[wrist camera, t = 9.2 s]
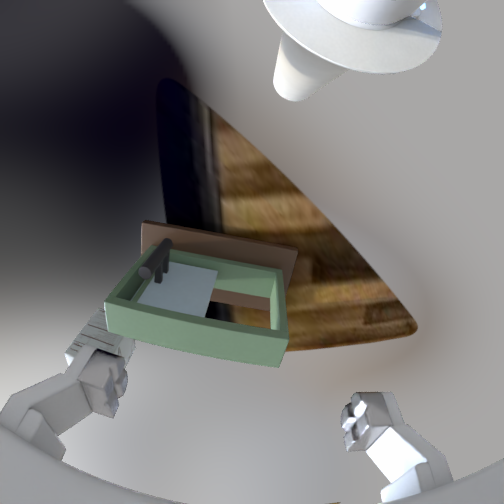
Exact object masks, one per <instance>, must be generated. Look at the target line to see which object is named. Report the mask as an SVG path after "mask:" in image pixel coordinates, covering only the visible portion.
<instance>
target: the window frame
mask: <svg viewBox="0 0 504 504" xmlns="http://www.w3.org/2000/svg"><path fill="white" fill-rule="evenodd" d="M141 238H142V239H141V257H140V259H139V260H138V261H137V262H136V263H135V264H134V265H133V267H132V268H131V269H130V270H129V271H128V272H127V274H126V275H125V276H124V277H123V278H122V280H121V281H120V282H119V283H118V285H117V286H116V287H115V288H114V290H113V291H112V292H111V293H110V294H109V296H108V297H107V298H106V300H105V301H104V305H105V313H106V320H107V327H108V332H111V333H114V334H117V335H121V336H124V337H128V338H131V339H135V340H139V341H142V342H146V343H150V344H154V345H158V346H162V347H166V348H171V349H175V350H180V351H184V352H188V353H193V354H198V355H203V356H208V357H213V358H219V359H224V360H230V361H236V362H242V363H248V364H255V365H261V366H269V367H276V368H279V366H280V364H281V361H282V358H283V356H284V353H285V350H286V347H287V345H288V342H289V333H288V332H289V331H288V321H287V312H286V302H285V297H286V294H287V290H288V287H289V283H290V280H291V276H292V272H293V269H294V265H295V262H296V258H297V254H298V249H297V248H296V247H291V246H285V245H280V244H275V243H269V242H264V241H259V240H254V239H248V238H243V237H237V236H232V235H226V234H221V233H216V232H210V231H205V230H199V229H193V228H188V227H182V226H177V225H171V224H165V223H160V222H154V221H148V220H145V221H143V222H142V237H141ZM165 238H169V239H171V240H172V242H173V246H172V248H171V249H170V256H169V262H174V263H179V264H184V265H189V266H195V267H200V268H205V269H210V270H215V271H218V274H217V277H216V281H215V284H214V287H213V291H212V294H211V297H210V301H215V302H221V303H226V304H231V305H237V306H242V307H248V308H254V309H260V310H266V311H270V317H271V329H266V328H260V327H254V326H248V325H242V324H236V323H231V322H225V321H220V320H215V319H209V318H204V317H199V316H194V315H190V314H185V313H180V312H176V311H171V310H167V309H162V308H158V307H153V306H149V305H145V304H141V303H137V302H133V301H132V299H133V298H134V296H135V295H136V293H137V292H138V291H139V289H140V288H141V286H142V285H143V283H144V282H145V281H146V279H143V278H142V277H140V275H139V269H140V267H141V266H142V265H143V264H144V262H145V261H146V260H147V259H148V257H149V256H150V255H151V254H152V252H153V251H154V250H155V249H156V248H157V246H158V245H159V244H160V243H161V242H162V240H163V239H165Z"/></svg>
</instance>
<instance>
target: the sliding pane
mask: <svg viewBox="0 0 504 504" xmlns="http://www.w3.org/2000/svg"><path fill="white" fill-rule="evenodd" d="M172 246H173V242H172V240H171V239H169V238H165V239H163V240H162V242H161V243H160V244H159V245H158V246H157V248H156V249H155V250H154V251H153V252H152V254H151V255H150V256H149V257H148V259H147V260H146V261H145V262H144V264H143V265H142V266H141V267H140V269H139V275H140V277H142V278H143V279H146V281H145V282H144V283H143V285H142V286H141V288H140V289H139V291H138V292H137V293H136V295H135V296H134V298H133V299H132V301H133V302H137V303H141V304H145V305H149V306H153V307H158V308H162V309H167V310H171V311H176V312H180V313H185V314H190V315H194V316H199V317H204V318H205V314H206V311H207V307H208V304H209V301H210V297H211V294H212V291H213V287H214V284H215V281H216V277H217V274H218V271H215V270H210V269H205V268H200V267H195V266H189V265H184V264H179V263H174V262H169V256H170V249H171V248H172Z"/></svg>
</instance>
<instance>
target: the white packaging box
mask: <svg viewBox="0 0 504 504" xmlns="http://www.w3.org/2000/svg"><path fill="white" fill-rule="evenodd" d="M85 344H88V345H90V346H93V347H96V348H99V349H102V350H105V351H107V352H110V353H113V354H116V355H119V356H122V357H124V359H125V366H124V369H125V368H126V366H127V364H128V362H129V359H130V357H131V356H132V354H133V351H134V350H135V339H131V338H128V337H124V336H121V335H117V334H114V333H111V332H108V327H107V320H106V313H105V310H104V309H101V308H98V309H97V311H96V312H95V313H94V314H93V316H92V317H91V318H90V320H89V321H88V322H87V324H86V325H85V326H84V327H83V329H82V330H81V331H80V333H79V334H78V335H77V337H76V338H75V340H74V341H73V342H72V343H71V345H70V346H69V348H68V349H67V350H66V352H65V356H66V360H67V363H68V366H69V365H70V364H71V362H72V361H73V359H74V358H75V356H76V355H77V353H78V352H79V350H80V349H81V347H82V346H84V345H85Z"/></svg>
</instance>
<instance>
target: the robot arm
mask: <svg viewBox="0 0 504 504" xmlns="http://www.w3.org/2000/svg"><path fill="white" fill-rule="evenodd" d="M317 1H318V3H319V4H320V5H321V6H322V7H323V8H324V9H325V10H327V11H328V12H329V13H330V14H332V15H333V16H335V17H336V18H338V19H340V20H342V21H344V22H346V23H348V24H350V25H353V26H356V27H359V28H363V29H369V30H384V29H388V28H391V27H394V26H395V25H397V24H398V23H400V22H401V21H403V20H405V19H415V18H418V17H419V16H420V15H421V9H422V10H423V9H424V8H426V7H425V2H426V1H428V0H317ZM124 366H125V359H124V357H122V356H119V355H116V354H113V353H110V352H107V351H105V350H102V349H99V348H96V347H93V346H90V345H88V344H85V345H84V346H82V347H81V349H80V350H79V352H78V353H77V355H76V356H75V358H74V359H73V361H72V362H71V364H70V365H69V367H68V368H67V370H66V372H65V373H64V374H62V373H60V374H57V375H55V376H53V377H51V378H49V379H46V380H44V381H42V382H39V383H38V384H35V385H33V386H31V387H28V388H26V389H24V390H22V391H19V392H17V393H15V394H13V395H12V396H11V397H10V398H9V400H8V402H7V403H6V404H5V406H4V407H3V409H2V411H1V412H0V504H185V503H180V502H176V501H171V500H167V499H163V498H159V497H155V496H152V495H148V494H144V493H141V492H138V491H134V490H131V489H128V488H125V487H122V486H119V485H116V484H114V483H111V482H108V481H106V480H103V479H100V478H98V477H95V476H93V475H91V474H88V473H86V472H84V471H81V470H79V469H77V468H75V467H73V466H71V465H69V464H67V463H64V462H62V458H63V456H64V454H65V451H66V448H65V446H64V445H63V444H62V442H61V441H60V439H59V438H58V437H57V436H59V435H60V434H62V433H63V432H65V431H66V430H68V429H69V428H71V427H72V426H74V425H75V424H77V423H78V422H79V421H81V420H82V419H84V418H85V417H87V416H88V415H89V414H91V413H92V412H95V413H98V414H101V415H104V416H107V417H110V418H114V416H115V413H116V411H117V409H118V406H119V402H118V398H120V397H121V396H123V395H124V393H125V390H126V386H127V380H128V376H127V371H126V370H125V369H124ZM341 427H342V429H344V431H345V432H346V434H345V436H344V442H345V448H346V451H366V453H367V454H368V455H369V456H370V458H371V459H372V460H373V461H374V462H375V464H376V465H377V466H378V467H379V469H380V470H381V471H382V472H383V473H384V475H385V476H386V477H387V478H388V479H389V481H390V482H391V484H389V485H387V486H386V487H384V488H383V489H382V490H381V497H382V503H378V504H504V458H503V459H501V460H499V461H497V462H496V463H493V464H491V465H490V466H488V467H486V468H484V469H481V470H479V471H477V472H475V473H473V474H470V475H468V476H466V477H463V478H461V479H458V480H456V481H453V478H452V475H451V472H450V469H449V466H448V463H447V460H446V458H445V456H444V455H443V454H442V453H441V452H440V451H438V450H437V449H436V448H435V447H434V446H433V445H431V444H430V443H429V442H428V441H427V440H426V439H424V438H423V437H422V436H421V435H420V434H418V433H417V432H416V431H415V430H414V429H413V428H412V427H411V426H409V425H408V424H405V423H404V420H403V418H402V415H401V412H400V410H399V407H398V404H397V402H396V399H395V396H394V394H393V393H392V392H356V393H354V394H353V396H352V397H351V403H349V404H347V405H346V406H345V408H344V409H343V410H342V414H341Z"/></svg>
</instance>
